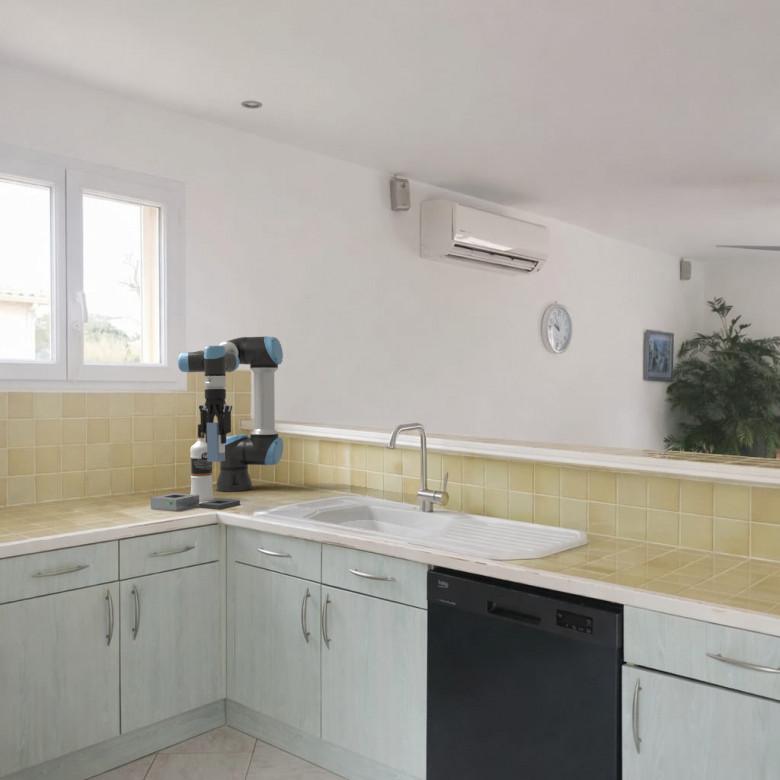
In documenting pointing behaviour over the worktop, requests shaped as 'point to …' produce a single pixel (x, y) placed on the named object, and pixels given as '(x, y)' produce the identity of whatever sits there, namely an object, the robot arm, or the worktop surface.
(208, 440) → the plug
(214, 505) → the dark grey flat frame
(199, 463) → the vodka
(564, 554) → the worktop surface
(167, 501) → the block
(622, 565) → the worktop surface
